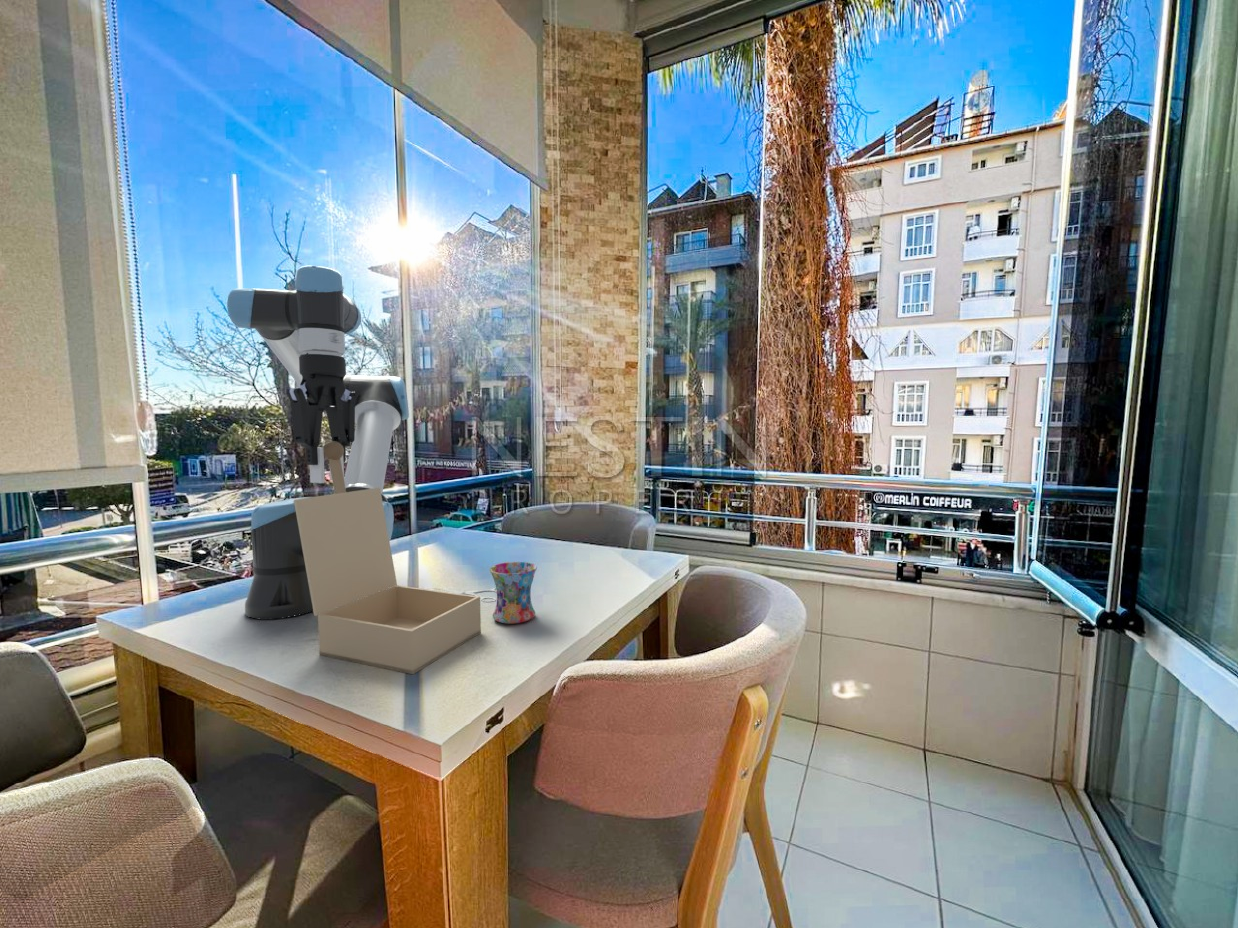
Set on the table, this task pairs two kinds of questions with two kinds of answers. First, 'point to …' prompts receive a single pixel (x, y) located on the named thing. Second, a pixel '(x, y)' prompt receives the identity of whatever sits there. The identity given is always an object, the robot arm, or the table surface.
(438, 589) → the scissors
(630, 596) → the table surface
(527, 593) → the mug
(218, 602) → the table surface
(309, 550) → the lid
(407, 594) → the box
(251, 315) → the robot arm
